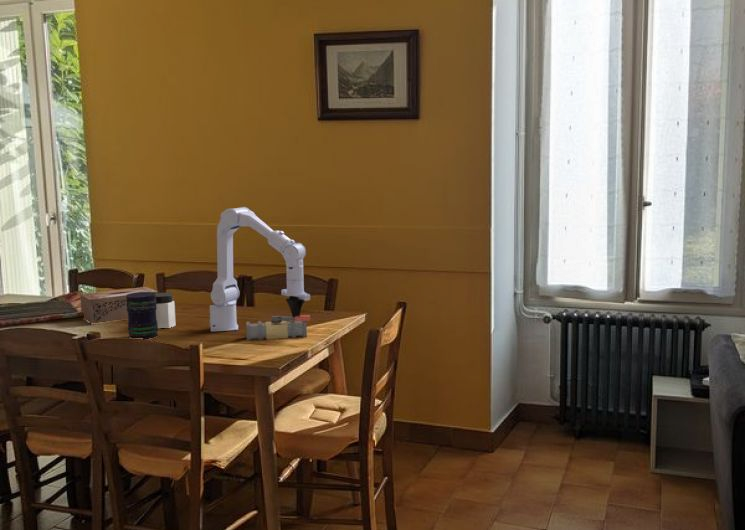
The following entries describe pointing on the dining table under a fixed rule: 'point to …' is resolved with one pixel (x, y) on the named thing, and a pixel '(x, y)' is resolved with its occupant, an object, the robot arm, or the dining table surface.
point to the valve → (276, 330)
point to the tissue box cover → (107, 304)
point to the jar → (165, 310)
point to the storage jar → (142, 315)
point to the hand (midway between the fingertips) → (296, 318)
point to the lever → (290, 318)
